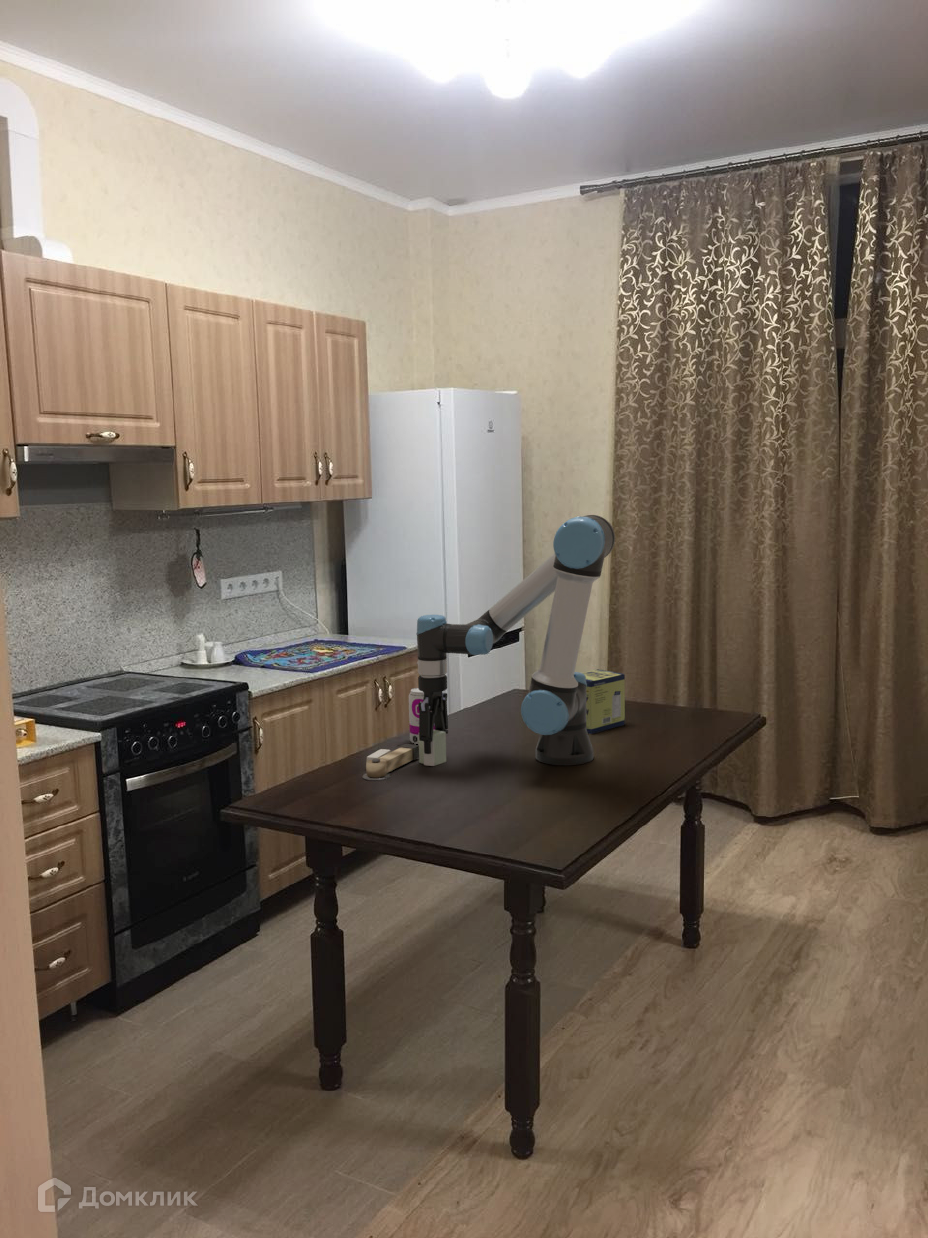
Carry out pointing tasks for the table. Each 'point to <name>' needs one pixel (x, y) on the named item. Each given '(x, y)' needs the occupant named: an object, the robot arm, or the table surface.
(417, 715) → the supplement can
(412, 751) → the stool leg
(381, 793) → the table surface
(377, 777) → the pivot plate
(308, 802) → the table surface
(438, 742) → the tall sage green block
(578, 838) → the table surface
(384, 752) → the stop block
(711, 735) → the table surface
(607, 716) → the protein box
